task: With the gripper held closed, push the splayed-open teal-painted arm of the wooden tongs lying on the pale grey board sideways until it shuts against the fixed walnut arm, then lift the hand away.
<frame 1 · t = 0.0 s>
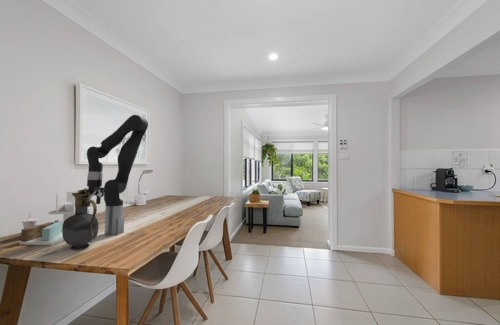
hand: (93, 205, 131), 17 cm above the table, tool pointing down, fingers open, 8 cm apart
architectural model: (75, 226, 145), on the table
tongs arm: (52, 229, 120), point 5 cm above the table, hinge at 22.0°
smoothie: (29, 237, 122), on the table
board: (53, 238, 120), on the table
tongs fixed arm: (56, 234, 127), resting on board
pitcher: (82, 248, 106), on the table
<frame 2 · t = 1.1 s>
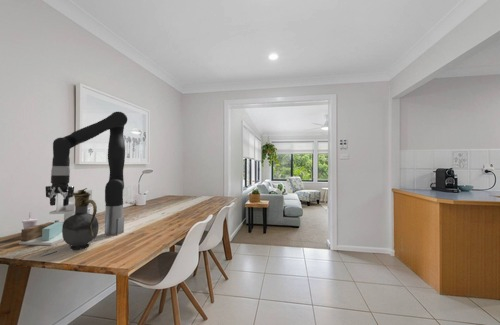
hand: (59, 205, 114), 20 cm above the table, tool pointing down, fingers open, 6 cm apart
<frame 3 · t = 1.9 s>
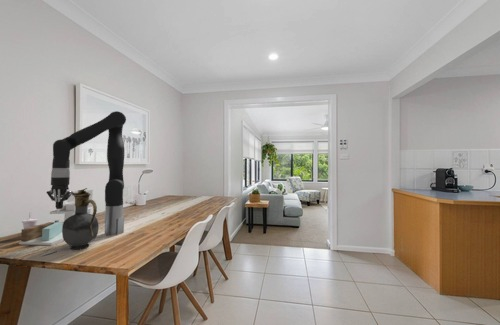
hand: (59, 208, 114), 18 cm above the table, tool pointing down, fingers closed
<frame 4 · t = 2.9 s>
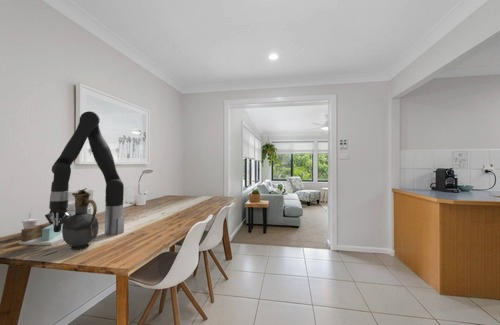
hand: (57, 231, 114), 6 cm above the table, tool pointing down, fingers closed
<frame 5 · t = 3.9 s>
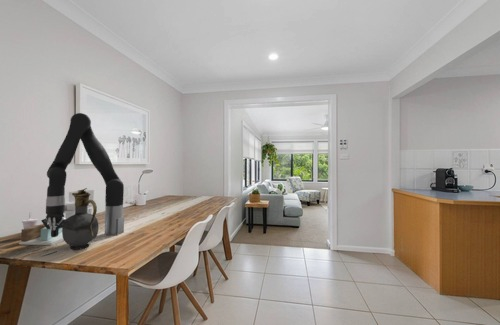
hand: (54, 236, 113), 3 cm above the table, tool pointing down, fingers closed
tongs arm: (51, 229, 120), point 5 cm above the table, hinge at 19.8°, touching gripper
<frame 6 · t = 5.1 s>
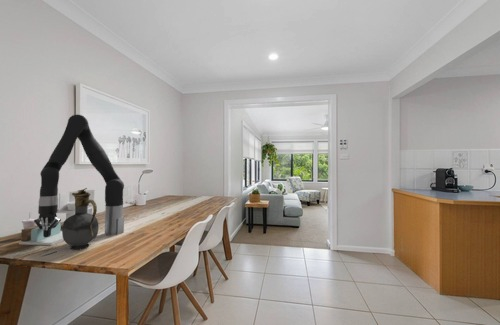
hand: (46, 236, 113), 3 cm above the table, tool pointing down, fingers closed
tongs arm: (47, 230, 119), point 5 cm above the table, hinge at 5.1°, touching gripper
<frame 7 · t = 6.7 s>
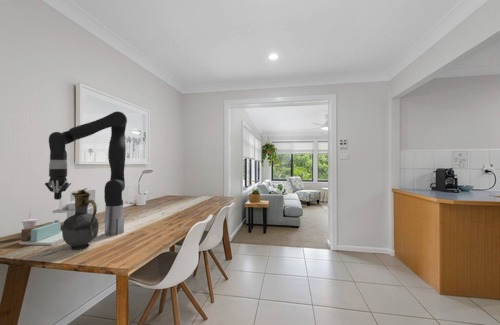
hand: (57, 199, 117), 22 cm above the table, tool pointing down, fingers closed
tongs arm: (47, 230, 119), point 5 cm above the table, hinge at 4.9°
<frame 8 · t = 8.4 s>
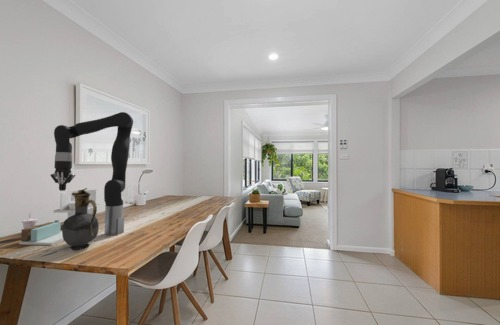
hand: (62, 190, 121), 27 cm above the table, tool pointing down, fingers closed
at the end: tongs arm at +5° (first picture: +22°) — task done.
